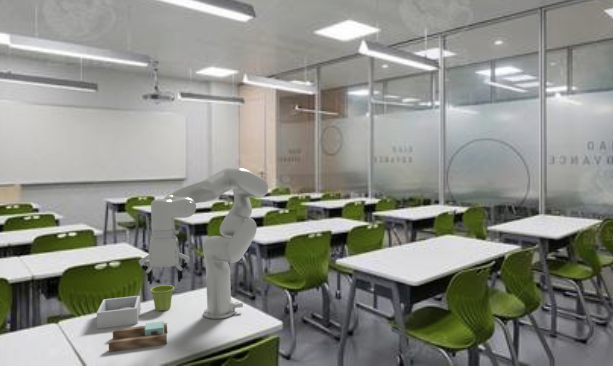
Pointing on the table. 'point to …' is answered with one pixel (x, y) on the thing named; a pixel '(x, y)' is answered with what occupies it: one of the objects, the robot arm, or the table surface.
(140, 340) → the wooden rail pair
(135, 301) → the holder
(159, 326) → the block
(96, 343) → the table surface
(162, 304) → the plant pot
